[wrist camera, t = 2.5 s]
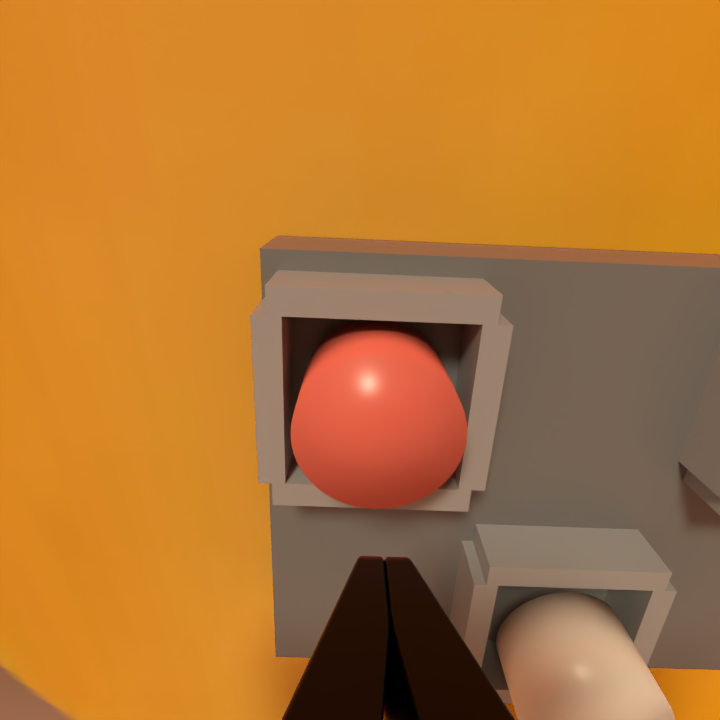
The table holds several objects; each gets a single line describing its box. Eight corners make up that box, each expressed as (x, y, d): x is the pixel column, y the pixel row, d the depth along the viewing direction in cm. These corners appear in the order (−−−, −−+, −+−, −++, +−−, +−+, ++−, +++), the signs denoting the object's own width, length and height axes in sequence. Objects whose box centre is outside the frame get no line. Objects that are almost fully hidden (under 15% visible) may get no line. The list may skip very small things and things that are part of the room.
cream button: (634, 594, 16) (694, 684, 13) (603, 680, 17) (650, 777, 14) (506, 590, 16) (538, 680, 13) (487, 676, 17) (512, 773, 14)
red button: (454, 321, 13) (478, 359, 11) (438, 449, 15) (456, 511, 12) (303, 315, 13) (288, 352, 11) (304, 444, 15) (291, 505, 12)
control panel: (872, 261, 16) (1078, 295, 12) (714, 610, 23) (806, 722, 18) (277, 235, 16) (243, 260, 11) (286, 596, 22) (267, 707, 18)
